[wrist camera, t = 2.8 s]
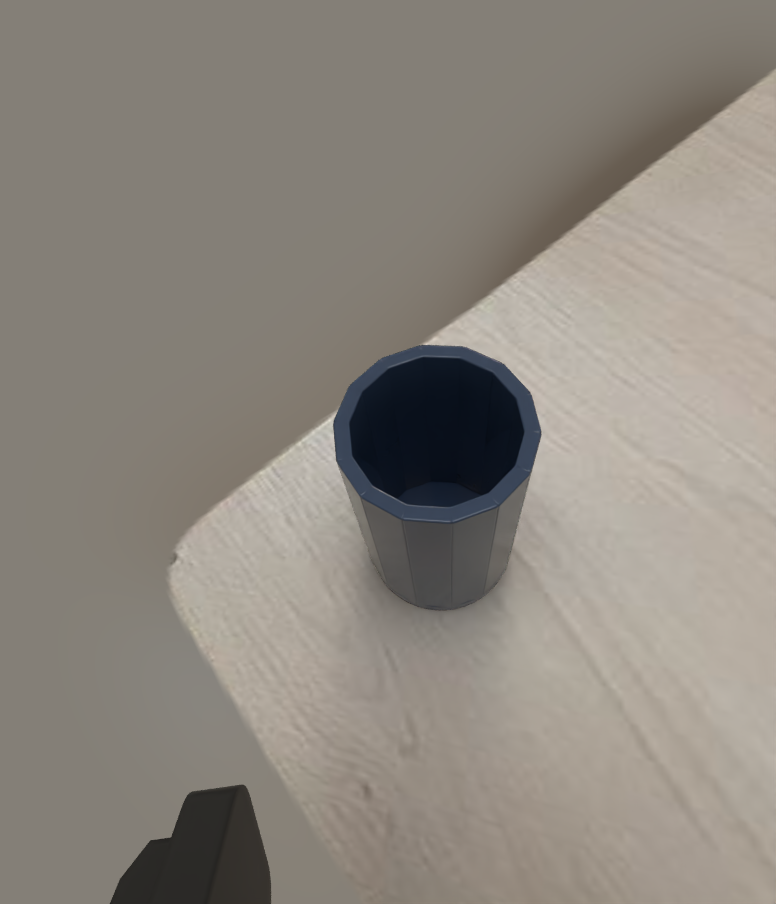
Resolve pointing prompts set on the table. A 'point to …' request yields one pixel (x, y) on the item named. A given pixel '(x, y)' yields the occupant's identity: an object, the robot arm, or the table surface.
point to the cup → (437, 469)
